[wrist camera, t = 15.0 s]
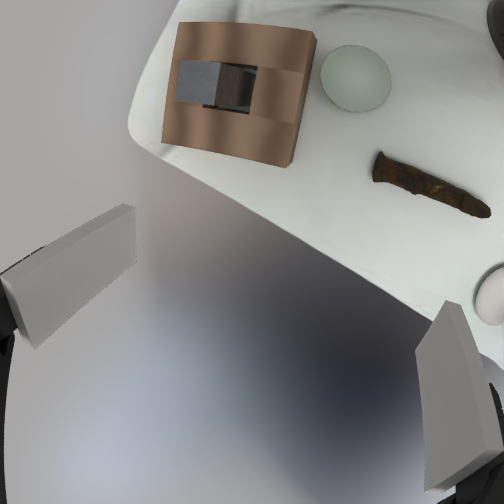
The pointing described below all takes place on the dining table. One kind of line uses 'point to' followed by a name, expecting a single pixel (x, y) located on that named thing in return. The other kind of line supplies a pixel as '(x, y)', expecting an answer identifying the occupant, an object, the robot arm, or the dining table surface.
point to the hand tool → (427, 186)
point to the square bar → (214, 84)
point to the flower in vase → (491, 299)
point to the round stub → (355, 78)
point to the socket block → (264, 94)
